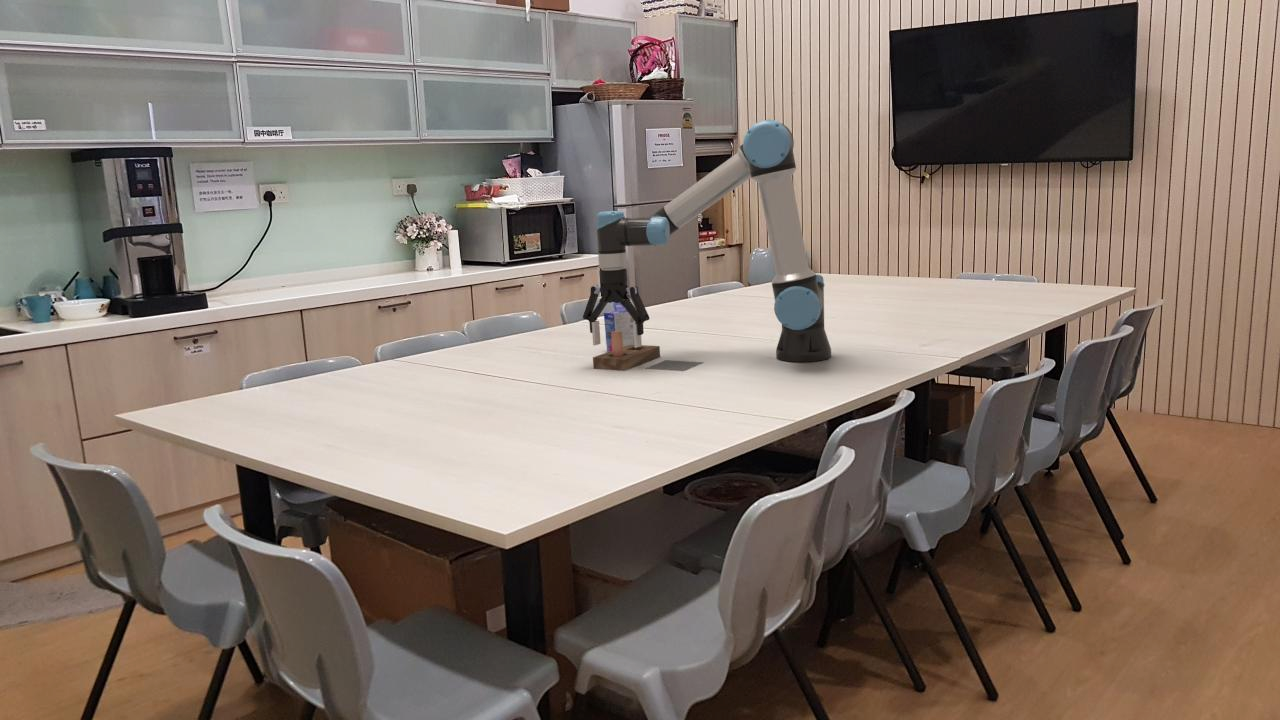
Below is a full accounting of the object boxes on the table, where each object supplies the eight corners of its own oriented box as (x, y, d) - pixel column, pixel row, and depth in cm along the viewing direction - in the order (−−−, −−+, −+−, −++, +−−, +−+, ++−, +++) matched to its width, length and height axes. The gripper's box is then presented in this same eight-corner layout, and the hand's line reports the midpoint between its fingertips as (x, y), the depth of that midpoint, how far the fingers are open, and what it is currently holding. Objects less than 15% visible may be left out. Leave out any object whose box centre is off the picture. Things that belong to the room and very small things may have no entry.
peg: (626, 366, 276) (624, 331, 274) (620, 368, 273) (618, 333, 271) (617, 366, 277) (614, 330, 275) (611, 368, 275) (609, 332, 273)
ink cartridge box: (629, 346, 306) (627, 300, 303) (641, 348, 302) (639, 301, 299) (605, 352, 300) (602, 304, 297) (617, 353, 296) (614, 305, 293)
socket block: (660, 358, 286) (659, 346, 285) (624, 372, 269) (624, 359, 268) (630, 356, 291) (629, 344, 290) (593, 369, 274) (592, 357, 273)
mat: (704, 363, 274) (703, 362, 274) (684, 372, 264) (684, 371, 264) (665, 361, 280) (665, 360, 280) (644, 369, 270) (644, 368, 270)
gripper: (659, 267, 267) (663, 345, 271) (582, 266, 280) (586, 341, 284) (645, 270, 261) (649, 350, 265) (567, 269, 273) (572, 346, 277)
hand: (617, 345), depth 274 cm, fingers open, 13 cm apart
